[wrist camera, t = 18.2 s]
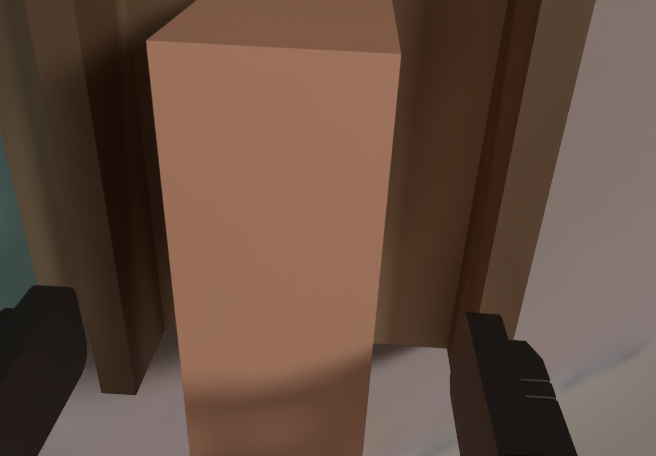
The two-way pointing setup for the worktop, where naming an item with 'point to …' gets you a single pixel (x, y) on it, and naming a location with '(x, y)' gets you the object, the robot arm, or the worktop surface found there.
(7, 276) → the teal book
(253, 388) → the rust book
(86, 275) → the book rack
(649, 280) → the worktop surface
